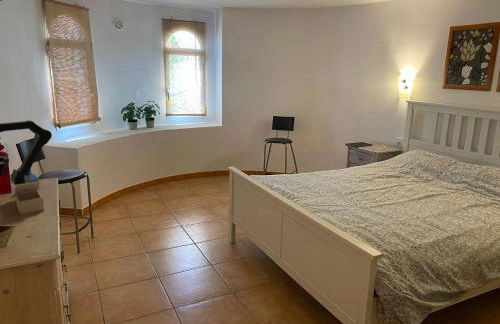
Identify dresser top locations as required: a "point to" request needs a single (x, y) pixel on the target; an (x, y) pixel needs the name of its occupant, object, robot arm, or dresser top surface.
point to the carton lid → (26, 186)
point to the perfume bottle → (32, 177)
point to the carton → (29, 202)
